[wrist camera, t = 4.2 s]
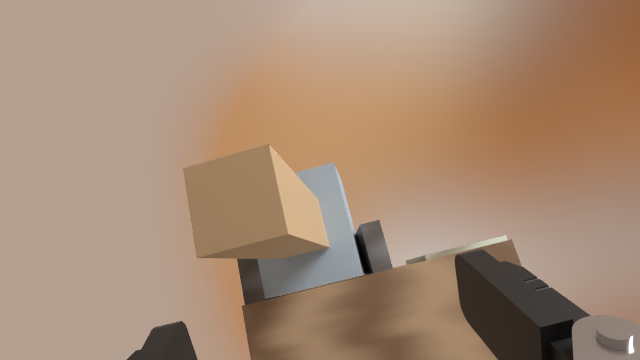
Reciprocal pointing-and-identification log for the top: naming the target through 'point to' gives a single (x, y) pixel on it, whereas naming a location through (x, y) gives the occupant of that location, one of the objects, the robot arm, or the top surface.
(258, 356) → the stand
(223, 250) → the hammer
